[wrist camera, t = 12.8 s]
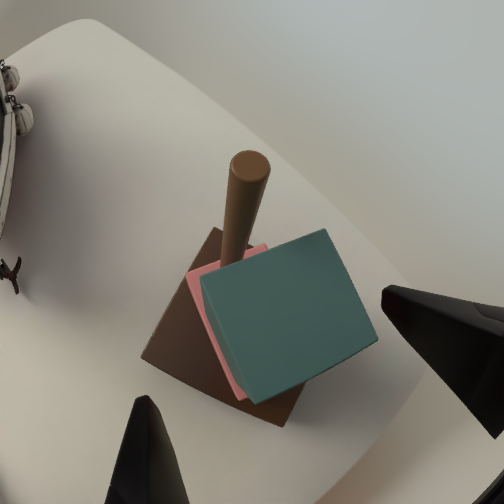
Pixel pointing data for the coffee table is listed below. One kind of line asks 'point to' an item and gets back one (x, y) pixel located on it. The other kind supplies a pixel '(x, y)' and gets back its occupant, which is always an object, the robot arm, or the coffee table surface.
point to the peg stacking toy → (275, 298)
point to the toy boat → (10, 150)
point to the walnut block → (205, 348)
